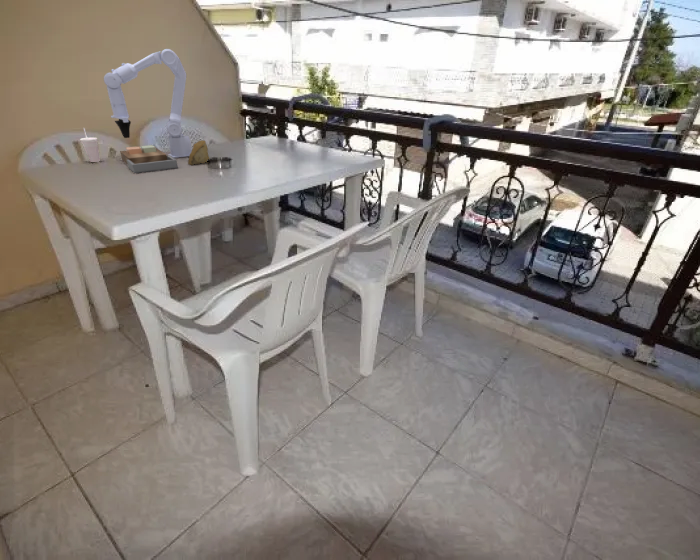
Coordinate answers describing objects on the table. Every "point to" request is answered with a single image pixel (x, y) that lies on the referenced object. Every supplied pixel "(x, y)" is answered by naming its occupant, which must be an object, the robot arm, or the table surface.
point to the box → (153, 165)
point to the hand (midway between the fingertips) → (126, 137)
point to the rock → (198, 153)
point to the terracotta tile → (133, 150)
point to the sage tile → (148, 148)
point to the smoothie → (91, 147)
